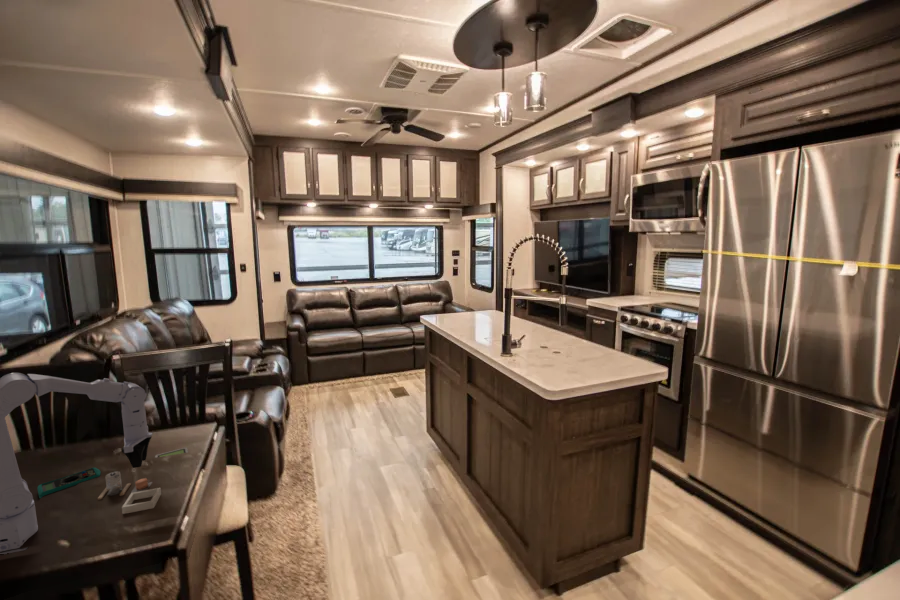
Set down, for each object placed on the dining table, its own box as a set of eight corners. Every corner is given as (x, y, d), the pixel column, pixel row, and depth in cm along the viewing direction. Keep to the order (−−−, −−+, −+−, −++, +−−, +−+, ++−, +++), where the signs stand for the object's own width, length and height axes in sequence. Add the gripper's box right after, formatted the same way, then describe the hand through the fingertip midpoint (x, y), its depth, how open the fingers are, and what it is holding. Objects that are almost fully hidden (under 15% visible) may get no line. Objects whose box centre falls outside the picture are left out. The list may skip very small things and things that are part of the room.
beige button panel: (150, 498, 124) (149, 492, 124) (93, 509, 119) (92, 503, 119) (160, 479, 134) (160, 474, 134) (108, 489, 129) (108, 483, 129)
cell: (119, 494, 124) (117, 475, 123) (105, 497, 123) (102, 477, 122) (124, 488, 127) (122, 469, 127) (110, 490, 126) (107, 471, 125)
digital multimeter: (103, 480, 135) (102, 472, 134) (40, 502, 123) (38, 493, 123) (98, 473, 139) (97, 465, 139) (37, 492, 128) (36, 484, 128)
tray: (154, 512, 118) (152, 501, 117) (123, 518, 115) (121, 507, 114) (161, 498, 124) (160, 487, 124) (132, 503, 122) (131, 492, 121)
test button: (146, 488, 127) (145, 482, 126) (134, 490, 126) (133, 484, 125) (149, 483, 130) (148, 477, 129) (138, 485, 128) (137, 479, 128)
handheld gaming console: (156, 472, 137) (154, 454, 149) (157, 476, 137) (155, 458, 149) (191, 462, 143) (186, 446, 155) (191, 466, 143) (187, 450, 155)
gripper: (142, 430, 120) (147, 472, 121) (157, 411, 133) (161, 450, 135) (113, 434, 117) (118, 477, 119) (131, 414, 130) (135, 454, 132)
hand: (139, 463), depth 127 cm, fingers open, 3 cm apart
